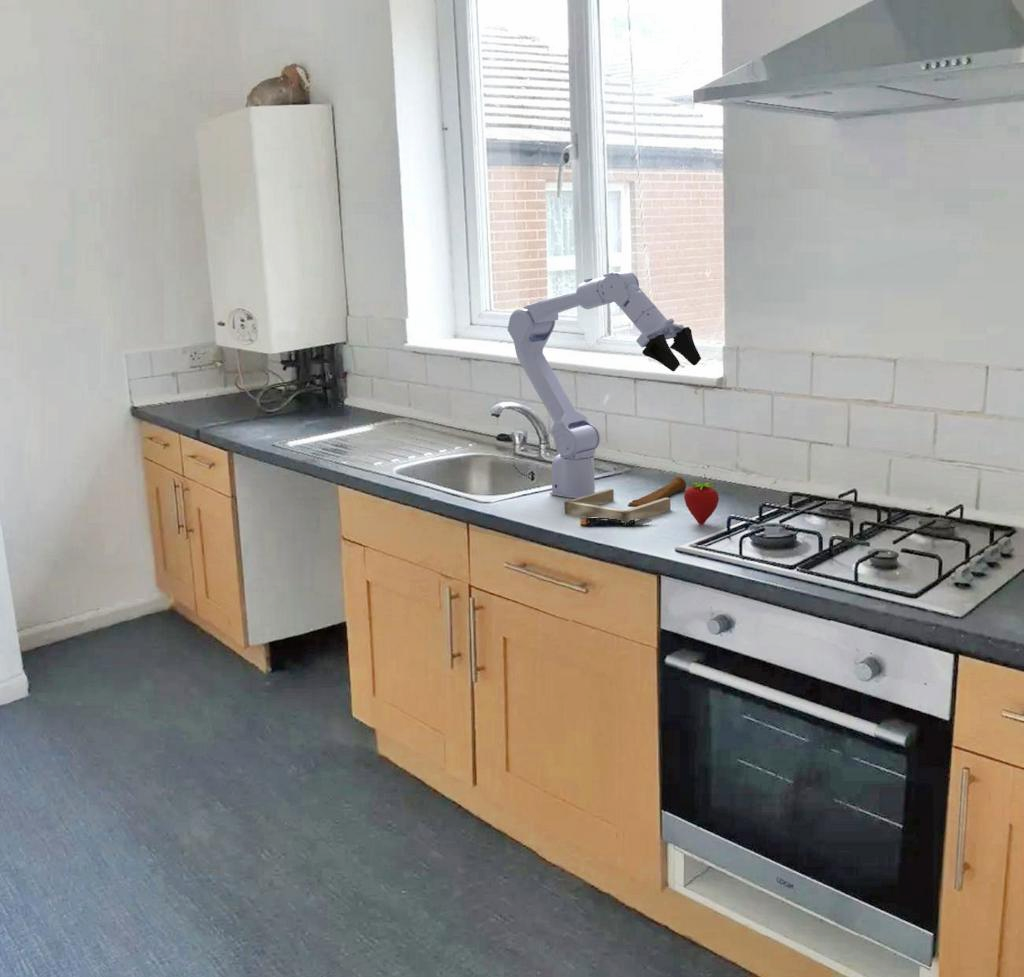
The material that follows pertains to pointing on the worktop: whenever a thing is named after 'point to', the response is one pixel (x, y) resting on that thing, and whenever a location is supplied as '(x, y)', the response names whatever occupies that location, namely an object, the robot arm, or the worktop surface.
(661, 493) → the primitive tool
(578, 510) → the box
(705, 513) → the strawberry
